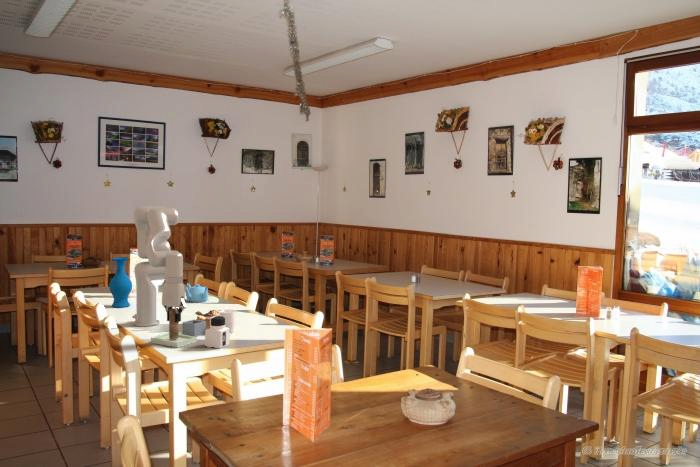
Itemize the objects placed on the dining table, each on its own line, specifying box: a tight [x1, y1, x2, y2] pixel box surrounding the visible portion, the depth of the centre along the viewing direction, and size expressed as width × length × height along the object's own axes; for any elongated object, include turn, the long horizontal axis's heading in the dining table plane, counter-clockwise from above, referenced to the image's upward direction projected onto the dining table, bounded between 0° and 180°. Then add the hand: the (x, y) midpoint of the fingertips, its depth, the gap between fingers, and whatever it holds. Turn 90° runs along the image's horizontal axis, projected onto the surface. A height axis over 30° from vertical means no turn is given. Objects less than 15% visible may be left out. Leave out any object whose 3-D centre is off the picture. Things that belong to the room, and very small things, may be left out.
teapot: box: [184, 282, 209, 303], centre depth 370 cm, size 15×15×10 cm
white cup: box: [218, 309, 237, 334], centre depth 292 cm, size 8×8×10 cm
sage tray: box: [150, 332, 198, 348], centre depth 270 cm, size 16×12×2 cm
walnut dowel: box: [168, 307, 180, 339], centre depth 270 cm, size 4×4×13 cm
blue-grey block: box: [182, 319, 207, 338], centre depth 286 cm, size 8×8×6 cm
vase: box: [108, 256, 133, 308], centre depth 348 cm, size 12×13×28 cm
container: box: [204, 315, 230, 349], centre depth 266 cm, size 8×8×13 cm
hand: (173, 320), depth 270 cm, fingers closed on walnut dowel, 4 cm apart
